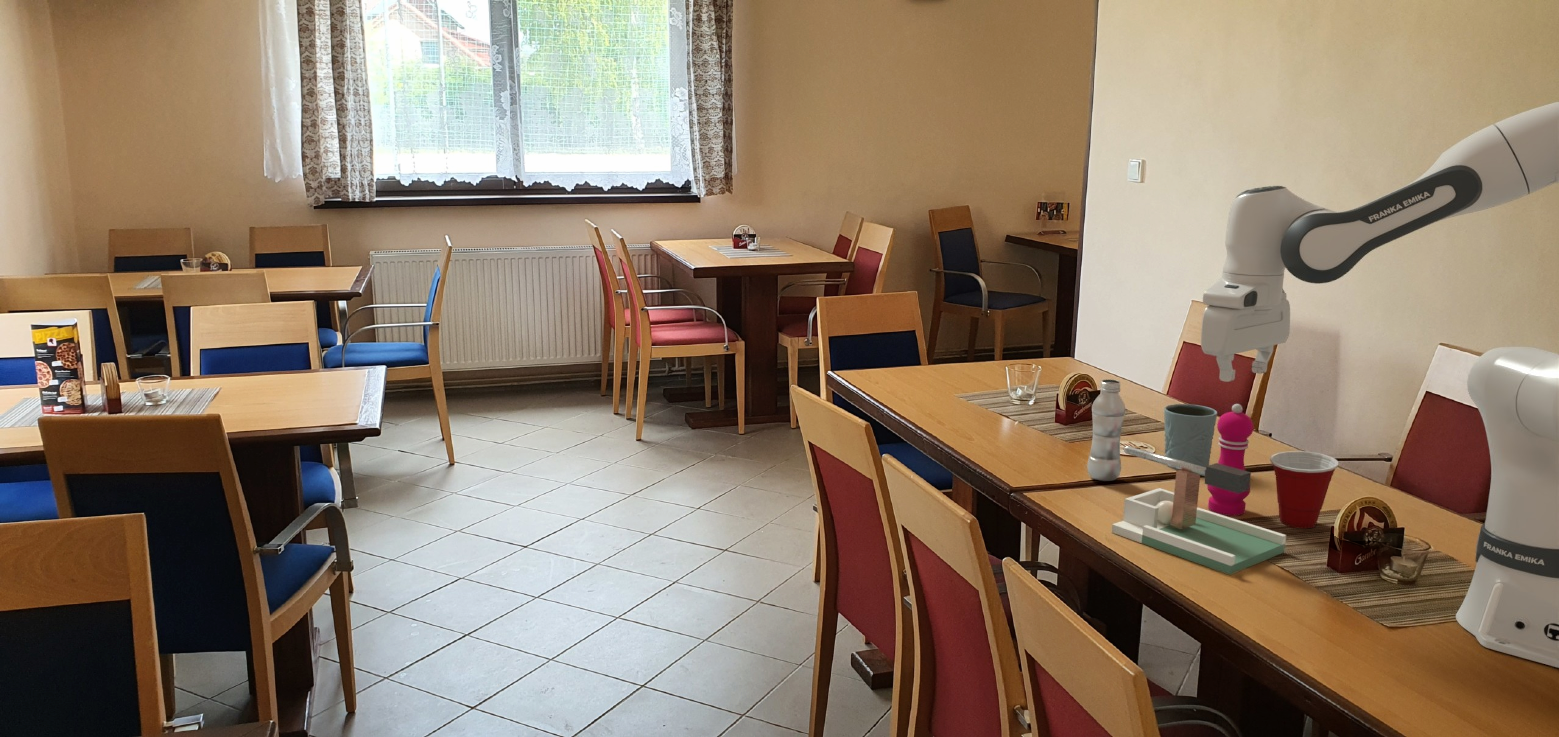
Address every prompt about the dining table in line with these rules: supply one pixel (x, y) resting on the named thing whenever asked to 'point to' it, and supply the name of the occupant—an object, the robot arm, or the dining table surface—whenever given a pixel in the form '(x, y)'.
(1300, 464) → the plastic cup
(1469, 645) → the dining table surface
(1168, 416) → the grey textured cup
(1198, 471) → the kicker rod
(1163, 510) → the ball
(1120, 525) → the pitch
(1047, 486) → the dining table surface
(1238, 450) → the pepper mill
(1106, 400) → the plastic bottle
